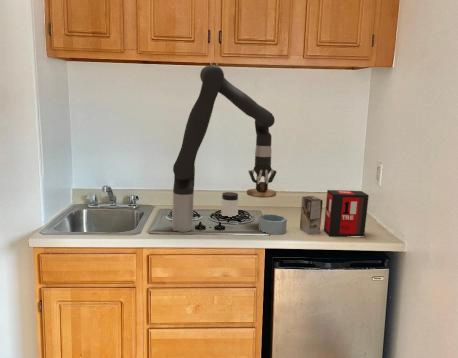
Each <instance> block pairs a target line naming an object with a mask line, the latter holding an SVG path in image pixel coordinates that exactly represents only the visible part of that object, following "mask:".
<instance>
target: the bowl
mask: <svg viewBox="0 0 458 358" xmlns="http://www.w3.org/2000/svg"><path fill="white" fill-rule="evenodd" d="M287 222H288V219H287V218H286V217H284V215H278V214H274V213H273V214H269V213H268V214H262V215H260V216H259V217H258V230H259V229H260V230H261V231H264V232H266V233H265V234H267V233H268V234H267V235H283V234H285V233H286V232H287V224H288V223H287ZM260 230H259V231H260ZM261 231H260V232H261Z"/></svg>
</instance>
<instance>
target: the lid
mask: <svg viewBox="0 0 458 358" xmlns="http://www.w3.org/2000/svg"><path fill="white" fill-rule="evenodd" d="M259 184H260V192H258V191H257V190H256V188H250V189H247V190H246V195H247V196H250V197H253V198H261V199H262V198H263V199H264V198H265V199H268V198H273V197H276V196H277V191H276V190H274V189H270V188H268V190H267V191H266V192H265V181H260V183H259Z"/></svg>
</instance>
